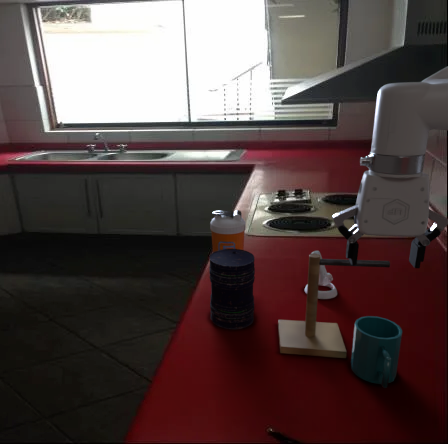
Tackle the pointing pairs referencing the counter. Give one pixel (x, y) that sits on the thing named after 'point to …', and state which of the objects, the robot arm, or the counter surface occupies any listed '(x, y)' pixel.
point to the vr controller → (324, 282)
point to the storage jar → (232, 288)
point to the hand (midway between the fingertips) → (382, 263)
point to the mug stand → (310, 329)
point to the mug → (376, 349)
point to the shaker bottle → (227, 230)
